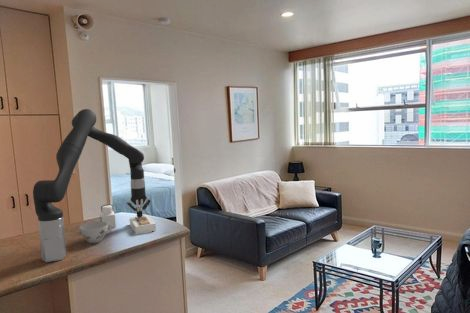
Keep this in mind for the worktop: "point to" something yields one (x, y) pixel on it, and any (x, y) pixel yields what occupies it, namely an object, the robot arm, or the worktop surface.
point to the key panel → (142, 228)
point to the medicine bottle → (108, 215)
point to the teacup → (94, 231)
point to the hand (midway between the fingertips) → (139, 217)
